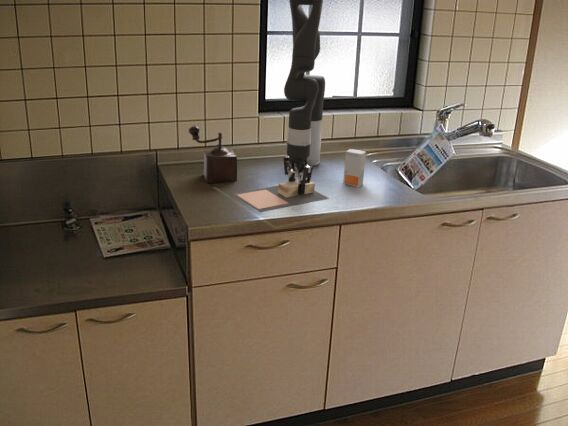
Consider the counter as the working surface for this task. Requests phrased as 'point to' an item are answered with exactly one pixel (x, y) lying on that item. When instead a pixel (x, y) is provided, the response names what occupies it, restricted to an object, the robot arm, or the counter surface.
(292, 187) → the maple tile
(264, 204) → the rubber mat
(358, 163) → the skincare box
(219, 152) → the manual coffee grinder
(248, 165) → the counter surface
